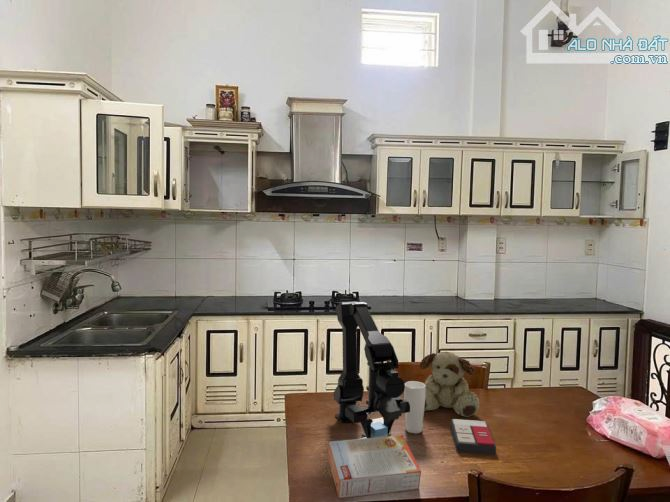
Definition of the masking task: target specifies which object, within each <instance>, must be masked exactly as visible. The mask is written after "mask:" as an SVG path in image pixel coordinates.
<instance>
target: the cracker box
mask: <svg viewBox="0 0 670 502" xmlns="http://www.w3.org/2000/svg"><path fill="white" fill-rule="evenodd" d="M363 438H364V437H363ZM327 459H328V463H329V468H330V471H331V475H332V477H333V482H334V486H335V489H336V494H337V497H338V499H345V498H353V497H362V496H370V495H380V494H388V493H397V492H403V491H404V492H405V491H407V492H408V491H414V490H419V489H420V482H421V476H422V475H421V474H422V470H421V468H420V466H419V465H418V462H417V460H416V458H415V457H414V454H413V453H412V451H411V449H410V447H409V444H408V443H407V442H406V439H405V438H404V436H403V434H402V435H401V434H400V435H390V436H389V435H388V436H387V437H376V438H364V439H360V438H355V439H343V440H332V441H331V440H330V441H328V452H327Z"/></svg>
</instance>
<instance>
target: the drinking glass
mask: <svg viewBox="0 0 670 502" xmlns="http://www.w3.org/2000/svg"><path fill="white" fill-rule="evenodd" d="M404 384H405V389H404V392H403V399H405V400H406V401H408V402H409V404H410V412H407V413H404V416H405V418H404V420H405V421H404V422H405V430H406V432H408V433H409V434H420V433H422V431H423V424H424V414H425V411H424V407H425V398H426V385H425V382H421V381H417V380H416V381H415V380H410V381H406V382H404Z"/></svg>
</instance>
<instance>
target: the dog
mask: <svg viewBox="0 0 670 502" xmlns="http://www.w3.org/2000/svg"><path fill="white" fill-rule="evenodd" d="M420 361H421V362H420V363H419V364H418V366H419V368H420V369H421V370H426V368H429V367H430V372H431V374H430V375H428V376H427V378H426V379H425V381H424V384H425V385H426V398H425V407H424V412H425V411H434V410H436V409H439V408H440V407H441V408H448V409H449V408H450V409H453V410H454V412H455V413H456V415H457V414H458V415H459V416H460V417H461V416H463V417H465V418H470V417H473V416H474V415H475V414H477V413H478V411H479V407H480V399H479V398H478V396H477V394H476V392H473V391H469V390H470V389H469V388H470V387H469V383H468V381H467V380H466V379H465V378H464V373H465V372H466V374H469V375H470V376H474V375H475V374H476V372H477V370H476V369H475V367H474V366H473V365H472V364H471V362H470V360H467V359H465V358H461V357H460V356H459V355H456V354H455V353H454V352H451V351H442V352H438V353H433V352H432V353H430V354H427V355H425V356H424V357H423V358H422V359H421V360H420Z"/></svg>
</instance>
